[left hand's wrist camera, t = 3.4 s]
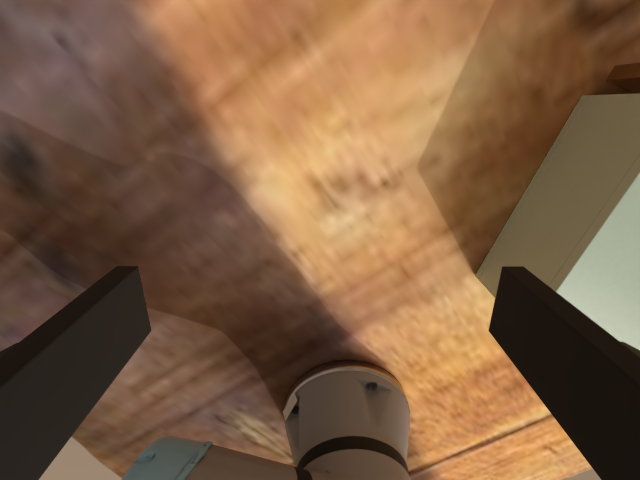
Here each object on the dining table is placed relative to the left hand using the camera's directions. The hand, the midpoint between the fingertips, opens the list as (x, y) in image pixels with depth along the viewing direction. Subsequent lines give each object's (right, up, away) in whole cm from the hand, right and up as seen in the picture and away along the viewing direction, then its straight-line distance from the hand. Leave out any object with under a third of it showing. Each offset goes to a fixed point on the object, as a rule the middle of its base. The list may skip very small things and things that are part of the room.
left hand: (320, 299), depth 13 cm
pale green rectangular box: (+25, +5, +22) cm, 33 cm away
